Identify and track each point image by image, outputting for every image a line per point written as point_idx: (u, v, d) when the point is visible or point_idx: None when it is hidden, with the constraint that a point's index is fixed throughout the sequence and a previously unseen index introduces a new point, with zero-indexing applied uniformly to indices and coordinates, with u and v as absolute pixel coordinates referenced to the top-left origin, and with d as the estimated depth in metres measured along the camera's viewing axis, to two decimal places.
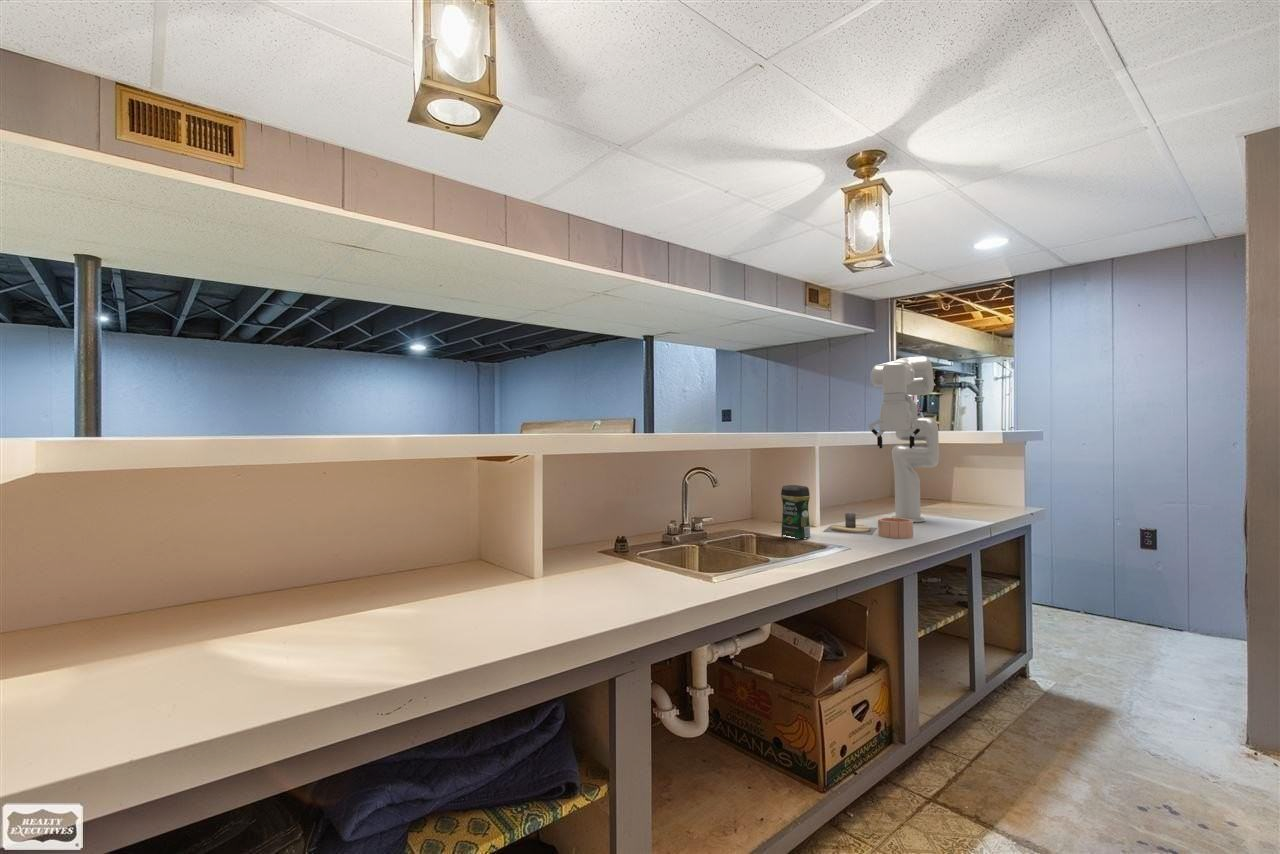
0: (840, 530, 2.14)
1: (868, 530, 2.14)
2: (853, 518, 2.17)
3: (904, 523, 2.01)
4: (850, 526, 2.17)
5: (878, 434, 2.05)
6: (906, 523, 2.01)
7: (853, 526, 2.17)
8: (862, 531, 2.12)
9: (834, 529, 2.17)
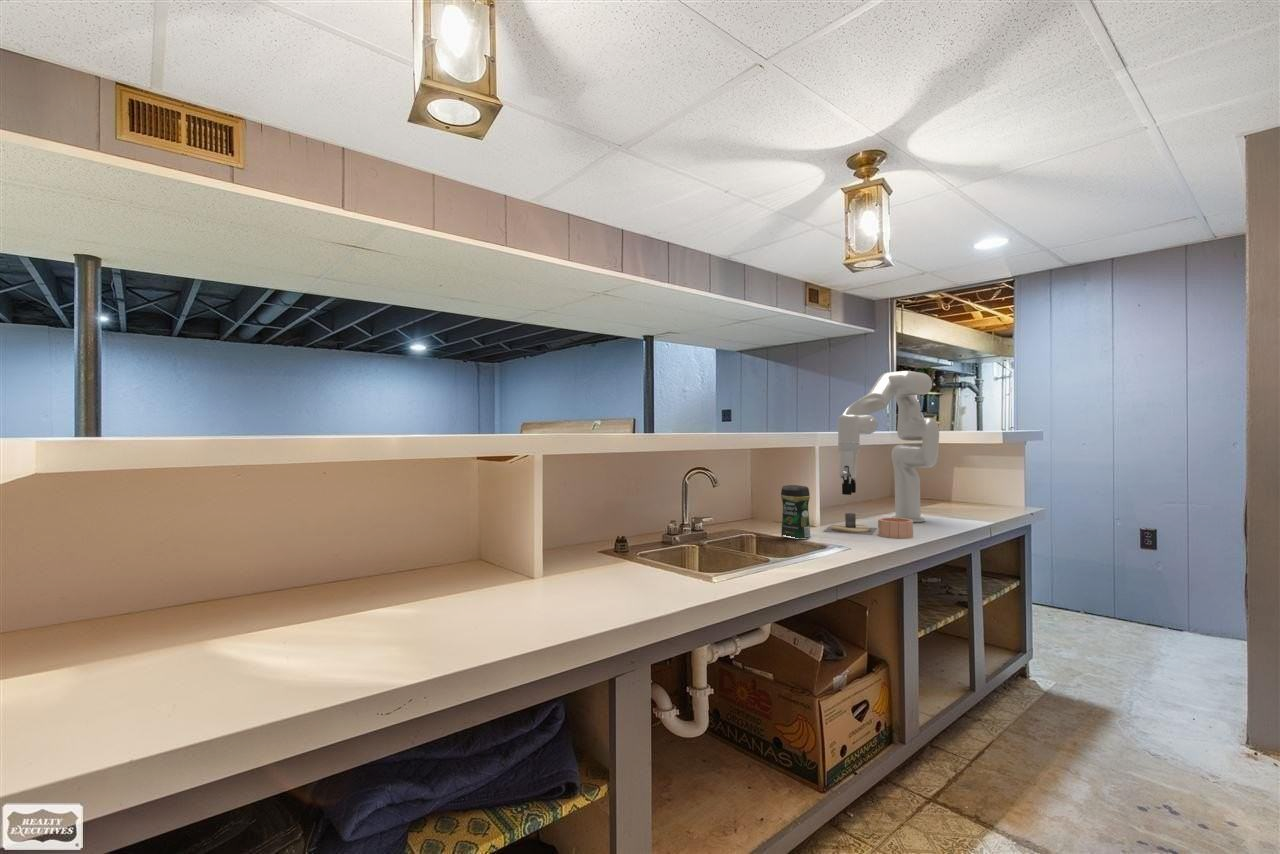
0: (840, 530, 2.14)
1: (868, 530, 2.14)
2: (853, 518, 2.17)
3: (904, 523, 2.01)
4: (850, 526, 2.17)
5: (850, 481, 2.14)
6: (906, 523, 2.01)
7: (853, 526, 2.17)
8: (862, 531, 2.12)
9: (834, 529, 2.17)
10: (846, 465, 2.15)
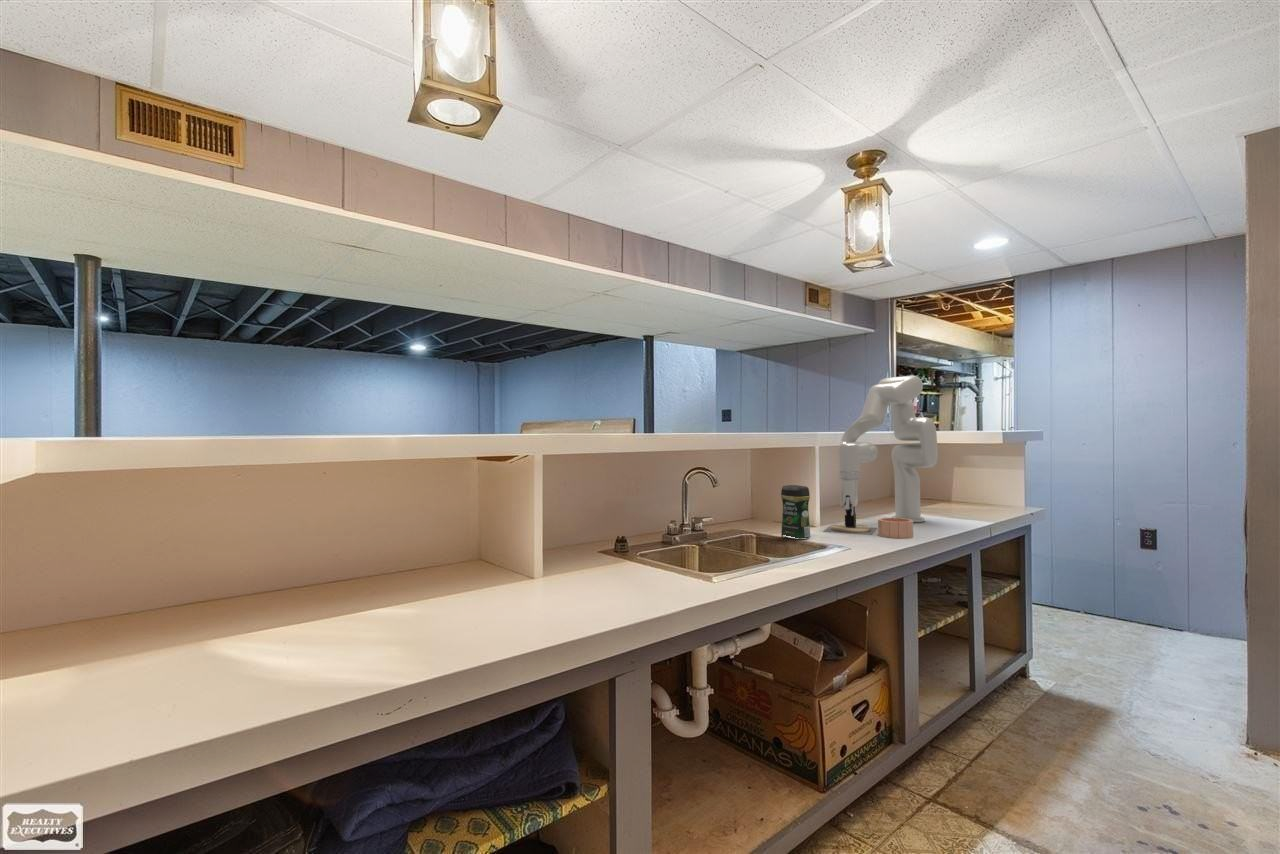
0: (840, 530, 2.14)
1: (868, 530, 2.14)
2: None
3: (904, 523, 2.01)
4: (850, 526, 2.17)
5: (852, 513, 2.16)
6: (906, 523, 2.01)
7: (853, 526, 2.17)
8: (862, 531, 2.12)
9: (834, 529, 2.17)
10: (847, 494, 2.15)
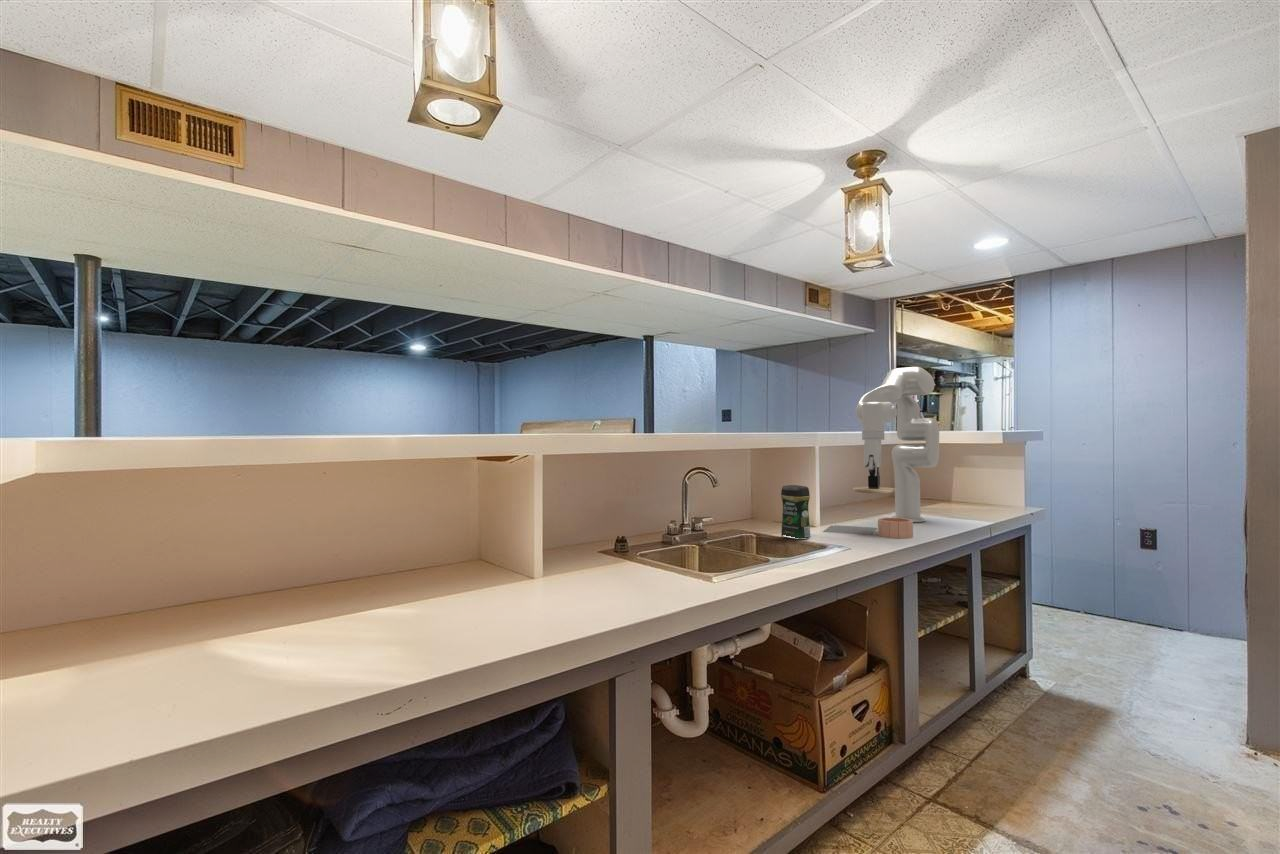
0: (863, 491, 2.08)
1: (892, 491, 2.07)
2: None
3: (904, 523, 2.01)
4: (873, 487, 2.10)
5: (876, 473, 2.09)
6: (906, 523, 2.01)
7: (877, 487, 2.10)
8: (886, 491, 2.05)
9: (857, 490, 2.10)
10: (870, 454, 2.08)
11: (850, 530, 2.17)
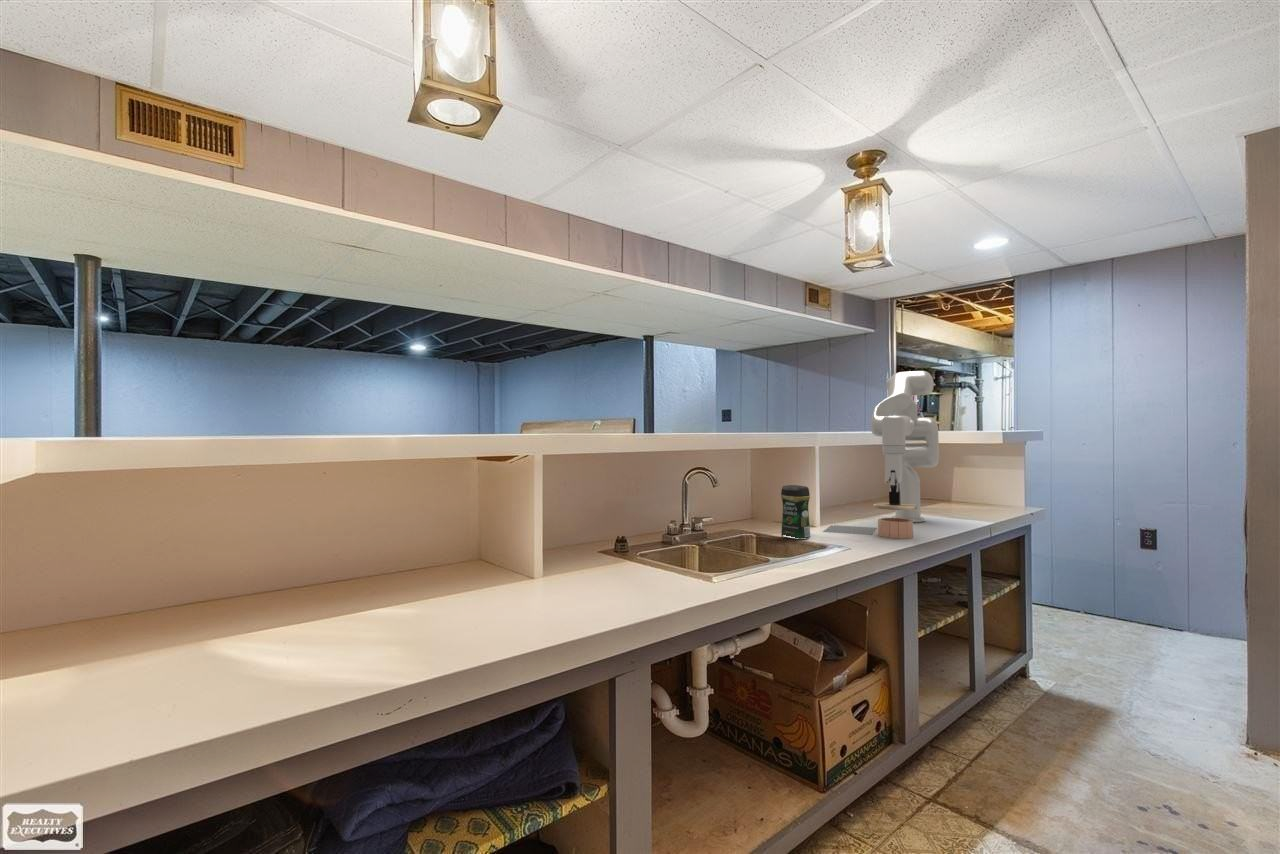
0: (885, 507, 2.02)
1: (915, 507, 2.01)
2: None
3: (904, 523, 2.01)
4: None
5: (897, 489, 2.03)
6: (906, 523, 2.01)
7: None
8: (909, 508, 1.99)
9: (878, 506, 2.04)
10: (892, 469, 2.02)
11: (850, 530, 2.17)
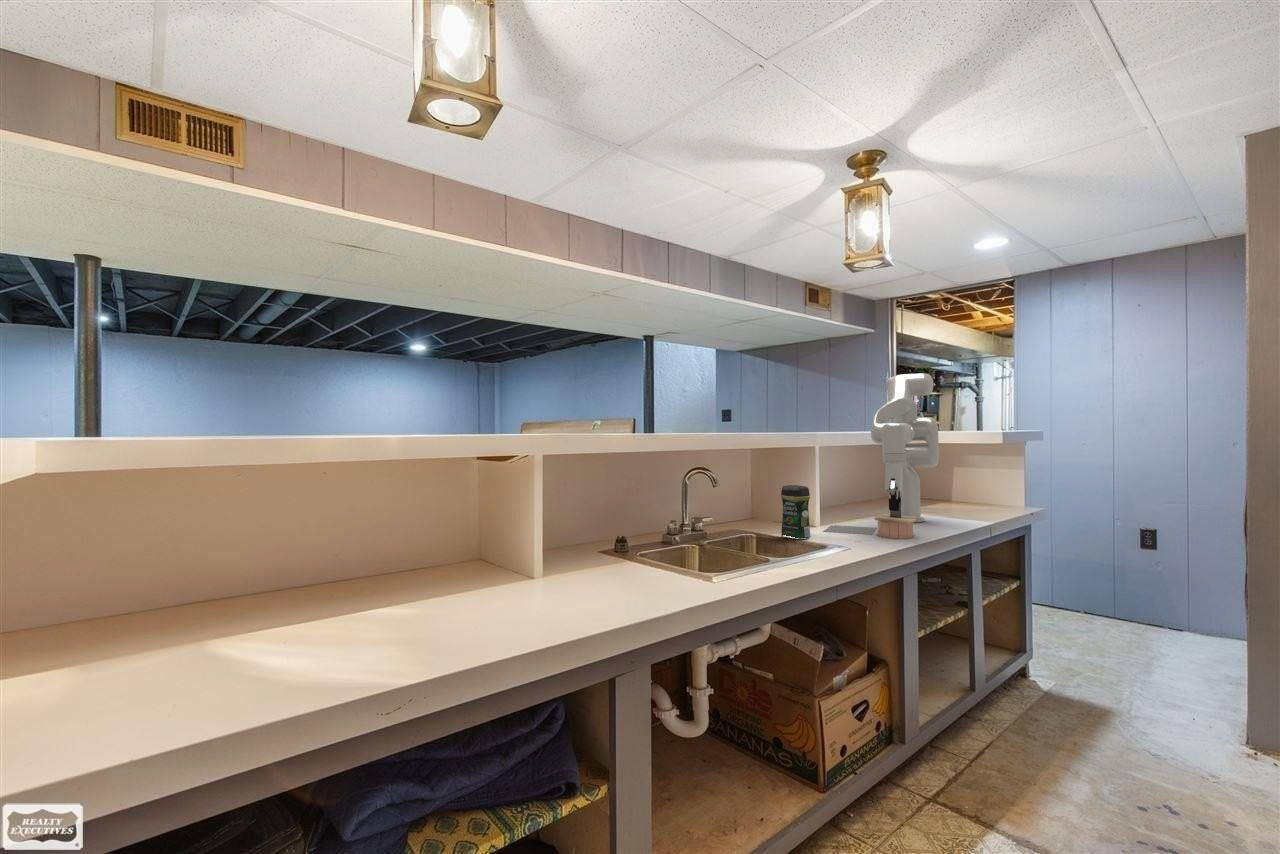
0: (885, 520, 2.02)
1: (915, 520, 2.01)
2: (899, 507, 2.04)
3: (904, 523, 2.01)
4: (895, 516, 2.04)
5: (897, 496, 2.02)
6: (906, 523, 2.01)
7: (899, 516, 2.04)
8: (909, 521, 1.99)
9: (878, 519, 2.04)
10: (892, 477, 2.02)
11: (850, 530, 2.17)
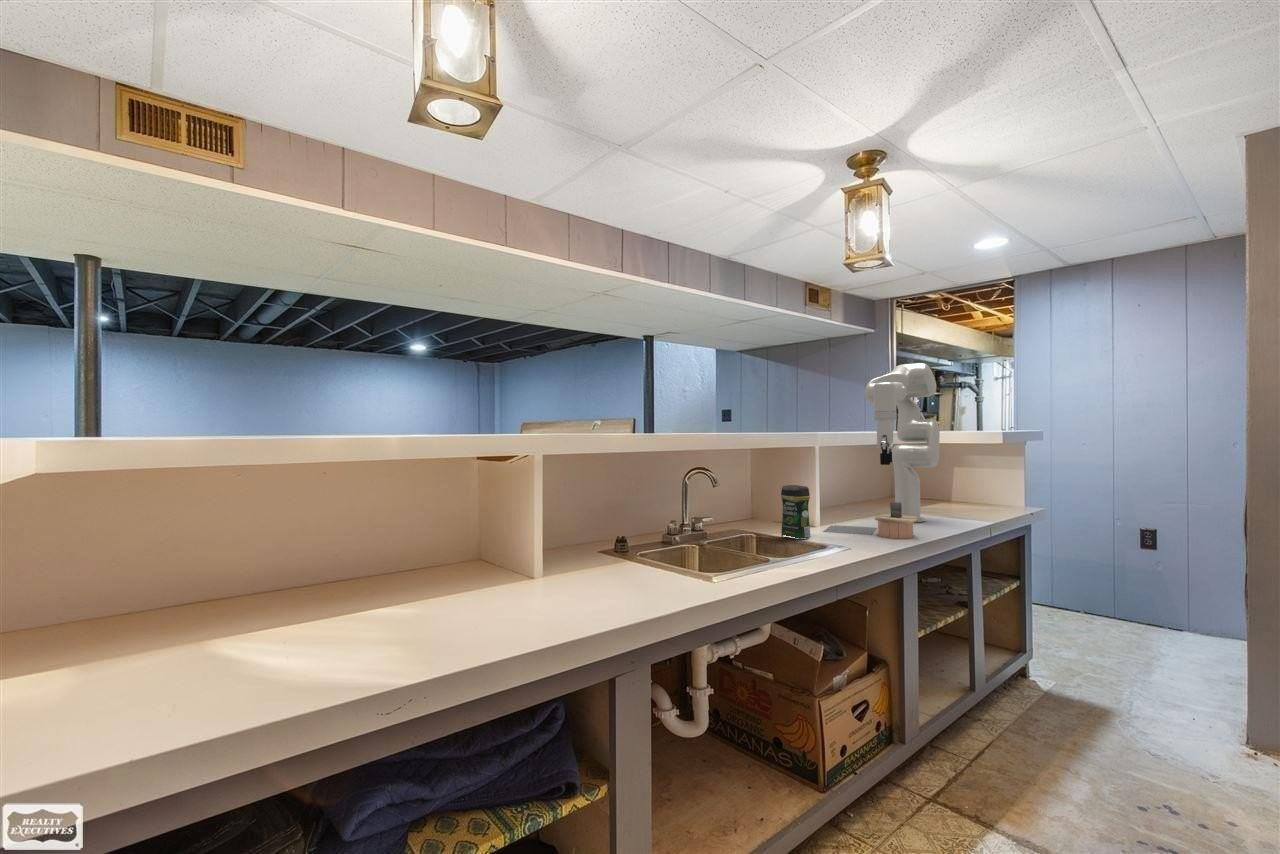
0: (886, 520, 2.02)
1: (916, 520, 2.01)
2: (899, 507, 2.04)
3: (904, 523, 2.01)
4: (896, 516, 2.04)
5: (888, 451, 2.08)
6: (906, 523, 2.01)
7: (899, 516, 2.04)
8: (910, 521, 1.99)
9: (879, 519, 2.04)
10: (883, 434, 2.09)
11: (850, 530, 2.17)
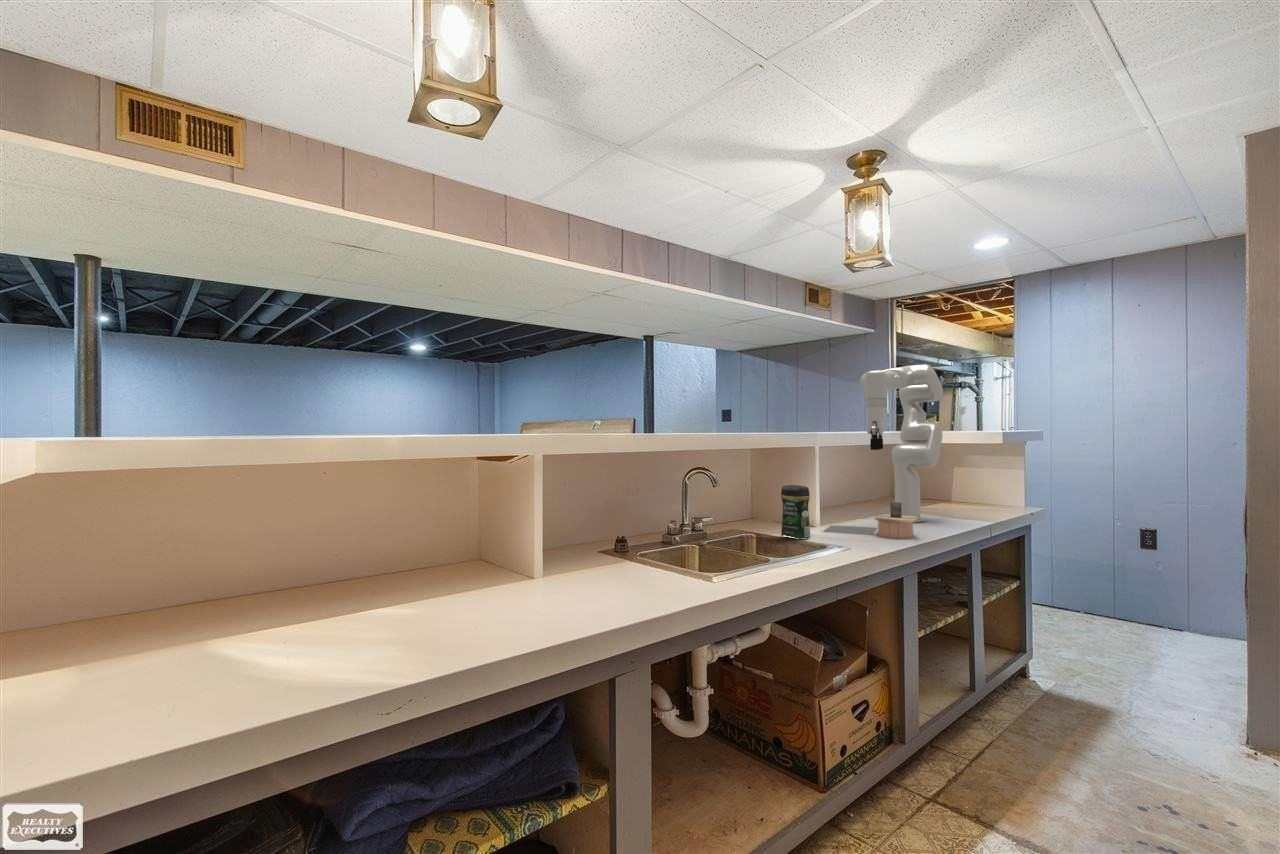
0: (886, 520, 2.02)
1: (916, 520, 2.01)
2: (899, 507, 2.04)
3: (904, 523, 2.01)
4: (896, 516, 2.04)
5: (878, 436, 2.15)
6: (906, 523, 2.01)
7: (899, 516, 2.04)
8: (910, 521, 1.99)
9: (879, 519, 2.04)
10: (874, 420, 2.16)
11: (850, 530, 2.17)
